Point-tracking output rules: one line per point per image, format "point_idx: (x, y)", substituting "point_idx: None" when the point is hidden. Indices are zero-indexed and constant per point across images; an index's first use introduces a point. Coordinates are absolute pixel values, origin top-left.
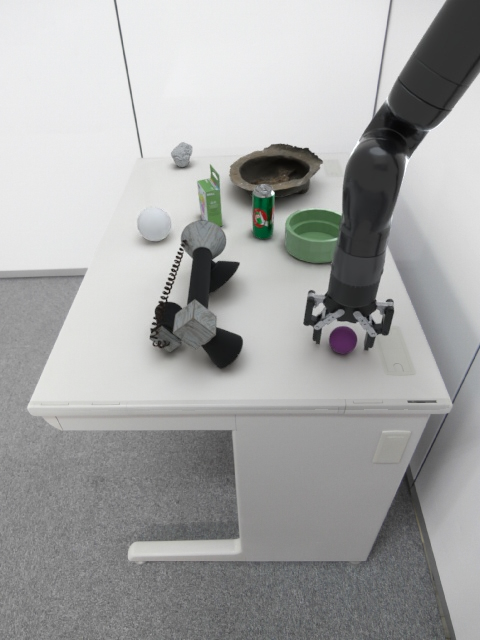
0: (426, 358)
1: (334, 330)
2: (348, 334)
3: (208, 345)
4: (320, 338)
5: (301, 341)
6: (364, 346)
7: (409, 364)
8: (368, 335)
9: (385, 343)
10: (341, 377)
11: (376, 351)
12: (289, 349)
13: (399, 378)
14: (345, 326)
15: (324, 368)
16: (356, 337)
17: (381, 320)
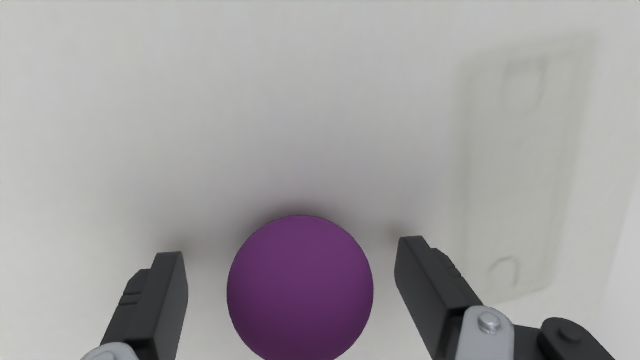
0: (621, 212)
1: (247, 324)
2: (330, 357)
3: None
4: (179, 336)
5: (94, 241)
6: (401, 282)
7: (548, 253)
8: (439, 356)
9: (493, 168)
10: None
11: (443, 221)
12: (55, 296)
13: None
14: (312, 300)
15: (235, 340)
16: (371, 306)
17: (562, 356)
